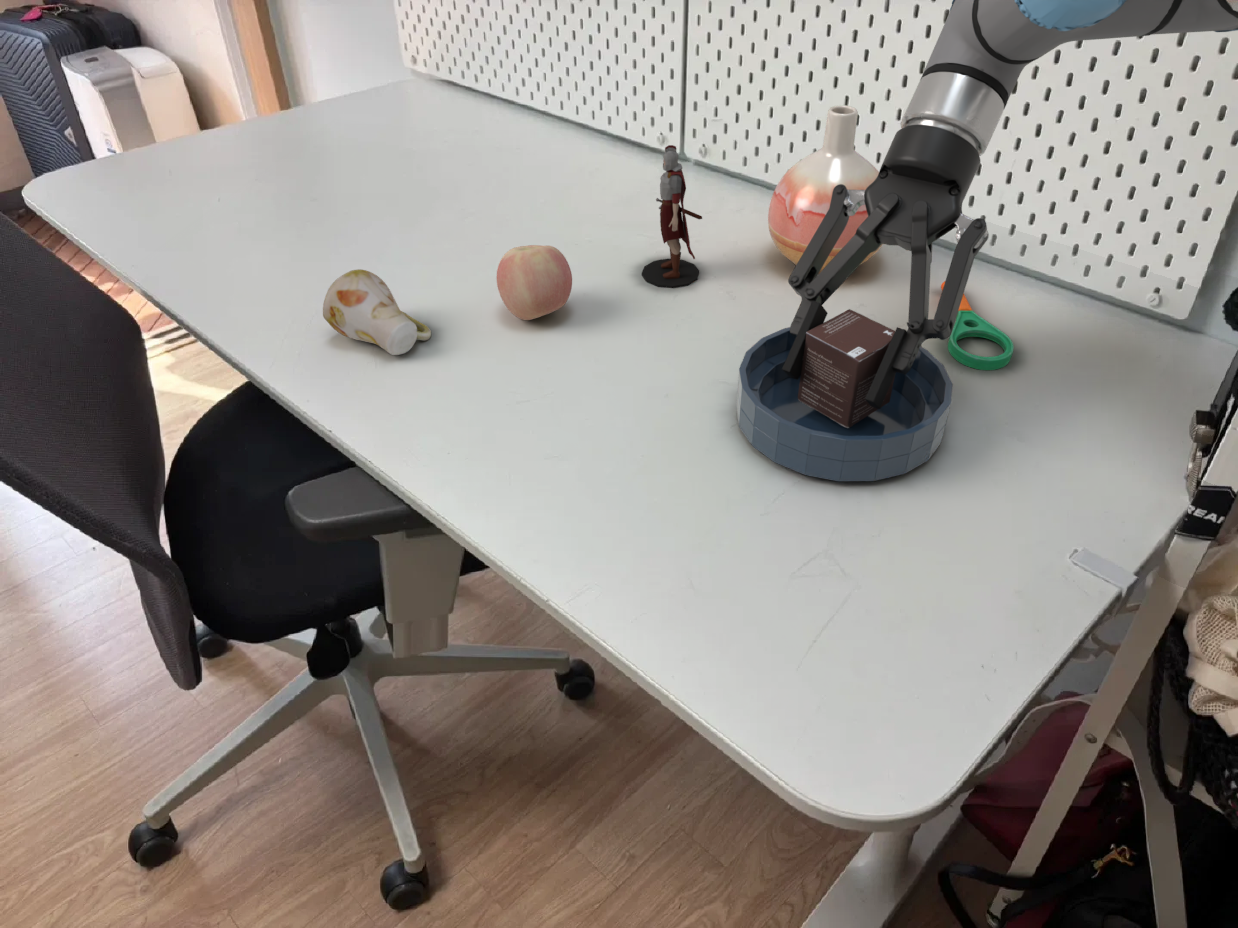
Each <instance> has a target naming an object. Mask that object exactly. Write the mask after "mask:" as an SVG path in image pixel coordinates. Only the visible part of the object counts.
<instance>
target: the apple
mask: <svg viewBox="0 0 1238 928" xmlns="http://www.w3.org/2000/svg"><path fill="white" fill-rule="evenodd" d="M496 287H497V290H498V293H499V296H500V298H501V300H502V303H503V304H504V306H505V307H506V308H507V310H508V311H509V312H510V313H511V314H512V315H513V316H514V317H516V318H518V319H520V320H522V321H523V320H524V321H531V320H535V319H538V318H540V317H543V316H547V315H549V314H551V313H553V312H555V311H558V310H560V309H562V308H563V307H564V306H565V305H566V303H567V302H568V300H569V298H570V296H571V293H572V289H573V273H572V270H571V266H570V264H569V262H568V260H567V257H565V255H564V253H562V252H561V251H560V249H558V248H557V247H554V246H553V245H539V244H531V245H530V244H529V245H521V246H516V247H513V248H511V249H509V250H508V251H506V252H505V253H504V255H502V257H501V259H500V261H499V263H498V265H497V270H496Z"/></svg>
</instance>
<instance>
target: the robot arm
mask: <svg viewBox="0 0 1238 928" xmlns="http://www.w3.org/2000/svg"><path fill="white" fill-rule="evenodd" d="M1236 31H1238V0H952V1H951V6H950V8H949V12H948V14H947V18H946V19H945V22H944V25H943V26H942V29H941V31H940V33H939V35H938V38H937V40H936V43H935V44H934V46H933V49H932V51H931V54H930V56H929V57H928V58H929V59H928V61H927V63H926V65H925V68H924V69H923V72H922V75H921V77H920V79H919V82H918V83H917V85H916V88H915V90H914V92H913V94H912V97H911V98H910V100H909V103H908V105H907V107H906V110H905V112H904V114H903V116H902V117H901V121H900V129H899V130H897V131H896V133H895V134H894V137H893V139H892V141H891V143H890V145H889V148H888V150H887V152H886V155H885V157H884V159H883V161H882V164H881V165H880V169H879V170H878V172H879V174H878V176H877V178H876V179H875V180H874V182H873V183H871V184H870V185H869V186H868V187H867V188H866V190H848V189H847V188H846V186H845V185H843V184H839V185H837V186H835V188H834V189H833V193H832V198H831V203H830V208H829V210H828V212H827V213H826V215H825V217H824V219H823V220H822V222H821V224H820V225H819V227H818V229H817V231H816V232H815V234H814V236H813V237H812V239H811V241H810V243H809V244H808V246H807V248H806V249H805V251H804V253H803V255H802V256H801V258H800V260H799V261H798V263H797V265H796V266H795V265H794V268H793V270H792V272H791V273H790V275H789V277H788V281H787V282H788V284H789V286H790V287H791V288H792V289H793V291H794V292H795V294H797V295H798V296H800V297H801V301H800V303H799V306H798V308H797V310H796V313H795V315H794V318H793V320H792V322H791V323H790V326H789V327H790V333H791V334H792V336H793V337H795V338H796V339H795V341H794V343H793V345H792V348H791V350H790V352H789V354H788V357H787V359H786V361H785V363H784V366H783V368H782V370H783V371H784V372H785V373H786V374H787V375H788V376H789V377H791V378H793V379H796V380H798V379H799V376H800V374H801V368H802V362H803V354H804V347H805V341H806V332H807V331H809V330H811V329H813V328H815V327H817V326H819V325H821V324H823V323H824V322H825V320H826V318H827V316H828V315H829V314H828V311H827V310H826V309H825V307H824V306H823V305H824V304H825V303H827V301H828V300H829V298H830V297H832V295H834V293H835V292H836V291H837V290H838V289H839V288H840V287H841V285H843V283H844V282H845V281H846V280H847V279H848V278H849V277H850V276H851V275H852V274H853V273H854V271H855V270H857V268H858V267H859V266H860V265H862V264H863V263H862V262H863V261H864V259H865V258H866V257H867V256H868V255H869V254H870V253H871V252H874V251H876V250H877V249H878V248H879V247H880V246H881V244H883V245H886V246H899V247H900V248H902V249H904V250H905V251H908V252H910V253H911V259H910V260H911V262H910V279H909V280H910V281H909V298H908V299H909V301H908V303H909V304H908V318H907V319H908V320H907V322H906V326H907V329H904V328H901V327H898V326H897V327H896V329H895V333H894V335H893V337H892V340H891V342H890V344H889V346H888V349H887V351H886V353H885V355H884V357H883V360H882V362H881V364H880V366H879V369H878V371H877V373H876V375H875V378H874V380H873V382H872V384H871V387H870V389H869V391H868V393H867V396H866V398H865V400H866V401H867V402H868V403H869V404H870V406H871V407H874V408H877V409H879V410H880V407H881V405H882V403H883V401H884V398H885V396H886V394H887V392H888V390H889V387H890V385H891V383H892V381H893V378H894V376H895V374H896V372H898V373H901V374H904V375H906V374H907V373H908V372H909V371H910V369H911V367H912V364H913V362H914V360H915V358H916V356H917V353H918V351H919V349H920V347H922V345H923V343H924V342H925V341H926V340H930V339H939V340H940V341H946V340H949V338H950V335H951V333H952V330H953V327H954V325H955V322H956V317H957V313H958V310H959V307H960V304H961V300H962V297H963V294H964V295H965V290H966V287H967V283H968V280H969V278H970V277H969V276H970V275H971V270H972V267H973V264H974V261H975V257H976V256H977V254H978V253H979V251H981V250H982V248H983V247H984V245H985V244H986V242H987V241H988V239H989V236H990V235H989V230H988V225H987V222H986V220H985V219H983V218H982V217H978V218H975V219H973V218H972V217H969V216H967V215H965V214H964V213H963V202H964V200H965V198H966V196H967V194H968V191H969V189H970V187H971V184H973V183H972V182H973V180H974V179H975V176H976V174H977V171H978V169H979V167H980V164H981V156H983V154H985V152H986V150H987V149H988V146H989V144H990V141H991V139H992V138H993V135H994V133H995V131H996V128H997V127H998V124H999V122H1000V120H1001V118H1002V115H1003V113H1004V110H1005V108H1006V107H1007V104H1008V101H1009V99H1010V97H1011V95H1012V93H1013V91H1014V88H1015V86H1016V84H1017V82H1018V79H1020V78H1019V77H1020V76H1021V73H1022V72H1023V70H1024V69H1025V67H1026V66H1027V65H1029V64H1031V63H1033V62H1034V61H1036V60H1038V59H1040V58H1042V57H1043V56H1044V55H1046V54H1048V53H1049V52H1051V51H1053V50H1054V49H1056V48H1058V47H1059V46H1061V45H1063V44H1066V43H1070V42H1081V41H1092V40H1107V39H1108V40H1109V39H1120V38H1121V39H1122V38H1133V37H1134V38H1135V37H1148V36H1153V35H1168V34H1169V35H1171V34H1185V33H1203V32H1215V33H1230V32H1236ZM862 205H865V206H866V210H867V214H868V217H867V218H866V219H865V221H864V222H863V223H862V224H861V225H860V226H859V227H858V228H857V230H856V233H855V235H854V236H853V237H852V238H851V239H850V241H849V242H848V243H847V244H846V245H845V246H844V247H843V248H842V249H841V250H840V251H839V252H838V254H837V255H836V256H835V257H834V258H833V259H832V260H831V261H830V262H829V263H828V264H827V266H826V267H825V268H824V269H823V270H822V271H821V272H820V270H821V268H822V266H823V265H824V263H825V261H826V260H827V258H828V256H829V255H830V253H831V251H832V249H833V248H834V246H835V244H836V243H837V241H838V239H839V237H840V236H841V234H842V232H843V231H844V229H845V227H846V225H847V223H848V220H849V216H854V215H855V213H856V212H857V210H858V208H859V207H860V206H862ZM954 229H956V232H955V240H956V243H957V244H956V246H955V249H954V253H953V254H952V259H951V262H950V264H949V267H948V271H947V274H946V277H945V280H944V281H945V284H944V287H943V291H942V290H941V294H940V298H939V301H938V304H937V307H936V311H935V312H934V313H935V314H934V317H933V318H929V311H930V288H931V287H930V286H931V266H932V265H931V264H932V261H933V244H934V243H935V242H936V241H937V240H939V239H940V238H942V237H943V236H944V235H945V236H946V234H948V233H949V232H951V231H953V230H954ZM861 263H862V264H861ZM819 272H820V273H819ZM818 273H819V274H818Z"/></svg>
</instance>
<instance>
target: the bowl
mask: <svg viewBox="0 0 1238 928" xmlns="http://www.w3.org/2000/svg"><path fill="white" fill-rule="evenodd" d="M795 339H796V338H795V337H793V336H792V334H791V333H790V326H789V327H785V328H781V329H779V330H776V331H775V332H772V333H769V334H768V335H765V336H764V337H761V338H760V339H759V340H758V341H757V342H756V343H754V344H753V345H752V346H751V347H750V348H749V349H748V350H747V351H746V352H745V353H744V356H743V358H742V361H741V363H740V365H739V367H738V380H737V391H736V405H735V410H736V416H737V422H738V427H739V429H740V430H741V432H742V434H743V435H744V436H745V438H746V439H747V441H748V443H750V445H751V446H752V447H753V448H754V449H756V450H757V451H759V453H761V454H763V455H764V456H765V457H766V458H767V459H769V460H771V461H772V462H773V463H775V464H777V465H780V466H783V467H785V468H787V469H789V470H792V471H794V472H797V473H799V474H802V475H804V476H809V477H814V478H818V479H823V480H830V481H835V482H875V481H881V480H884V479H885V480H886V479H888V478H893V477H897V476H901V475H905V474H907V473H909V472H910V471H912V470H914V469H916V468H917V467H919V466H921V465H923V464H924V463H926V462H928V461H929V460H930V458H931V457H932V456H933V454H934V453H935V451H936V450H937V449H938V448H939V446H940V445H941V443H942V440H943V436H944V434H945V433H944V432H945V428H946V425H947V420H948V416H949V412H950V409H951V405H952V396H953V388H954V387H953V386H954V384H953V381H952V380H951V378H950V376H949V373H948V371H947V369H946V367H945V365H944V364H943V363H942V362H940V360H938V358H936V357H935V356H934V355H933V354H932V353H931V352H930V351H929V350H928V349H927V348H925V347H923V346H921V347H920V349H919V351H918V353H917V356H916V358H915V360H914V362H913V364H912V367H911V369H910V371H909V372H908V373H907V374H906V375H904V374H901V373H898V372H896V374H895V378H894V382H893V387H892V392H891V398H890V402H889V403H887V404H886V405H884V406H882V407H881V408H880V410H879V409H878V410H876V411H874V412H873V413H871V414H870V415H868V416H867V417H865V418H864V419H862V420H860V421H859V422H857V423H856V424H854V425H853V426H851V427H850V428H846V427H843V426H841V425H840V424H838V423H837V422H835V421H834V420H832V419H830V418H829V417H827V416H825V415H824V414H822V413H820V412H819V411H817V410H815V409H813V408H811V407H809V406H807V405H805V404H804V403H802V402H800V401H799V399H798V392H799V384H800V377H801V374H800V376H799V379H798V380H796V379H793V378H791V377H789V376H788V375H787V374H786V373H785V372H784V371H783V370H782V368H783V366H784V363H785V361H786V359H787V357H788V354H789V352H790V350H791V348H792V345H793V343H794V341H795Z"/></svg>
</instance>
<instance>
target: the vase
mask: <svg viewBox="0 0 1238 928" xmlns="http://www.w3.org/2000/svg"><path fill="white" fill-rule="evenodd" d="M858 112H859V111H858V109H857V108H855V107H853V106H850V105H845V104H843V105H841V104H839V105H834V106H831V107H829V108H828V110H827V115H826V122H825V127H824V128H825V129H824V137H823V143H822V147H821V148H819V149H817V150H815V151H813V152H811V153H810V154H808V155H807V156H805V157H803V158H801V159H800V160H798V161H797V162H796V163H795V164H793V165H792V166H791V167H790V168H789V169H788V170H787V171H786V172H785V173H784V174H783V175H782V177H781V178H780V180H779V181H778V183H777V184H776V186H775V188H774V190H773V193H772V196H771V198H770V201H769V206H768V213H767V225H768V231H769V234H770V237H771V240H772V241H773V243H774V245H775V246H776V248H777V249H778V251H779V252H780V254H781V255H783V256H784V258H786V259H788V260H789V261H790V262H791V263H792V264H793V266H794V267H795V266H796V265H797V263H798V261H799V260H800V258H801V256H802V255H803V253H804V251H805V249H806V248H807V246H808V244H809V243H810V241H811V239H812V237H813V236H814V234H815V232H816V231H817V229H818V227H819V225H820V224H821V222H822V220H823V219H824V217H825V215H826V213H827V212H828V210H829V208H830V203H831V198H832V193H833V189H834V188H835V186H837V185H839V184H843V185H845V186H846V188H847V189H848V190H866V188H867V187H868V186H869V185H870V184H871V183H873V182H874V180H875V179H876V178H877V176H878V174H879V170H878V169H877V168H876V166H874V165H873V163H872V162H870V161H869V160H868V159H867V158H865V157H864V155H861V154H860V153H859V152H857V151H856V150H855V140H856V131H857V123H858V114H859V113H858ZM867 217H868V214H867V210H866V206H865V205H862V206H860V207H859V208H858V210H857V212H856V213H855V215H854V216H849V220H848V223H847V225H846V227H845V229H844V231H843V232H842V234H841V236H840V237H839V239H838V241H837V243H836V244H835V246H834V248H833V249H832V251H831V253H830V255H829V256H828V258H827V260H826V261H825V263H824V265H823V266H822V268H821V270H820V272H821V271H822V270H823V269H824V268H825V267H826V266H827V264H828V263H829V262H830V261H831V260H832V259H833V258H834V257H835V256H836V255H837V254H838V252H839V251H840V250H841V249H842V248H843V247H844V246H845V245H846V244H847V243H848V242H849V241H850V239H851V238H852V237H853V236H854V235H855V233H856V230H857V228H858V227H859V226H860V225H861V224H862V223H863V222H864V221H865V219H866V218H867ZM882 246H884V244H881V246H880V247H879V248H878V249H877V250H876V251H874V252H871V253H870V254H869V255H868V256H867V257H866V258H865V259H864V261H863V262H862V263H861V264H860V265H862V264H864V263H866V262H867V261H868V260H870V259H871V258H872V257H873V256H874V255H876V254H877V253H878V252H879V251H880V249H881V248H882ZM820 272H819V273H820ZM819 273H818V274H819Z"/></svg>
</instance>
